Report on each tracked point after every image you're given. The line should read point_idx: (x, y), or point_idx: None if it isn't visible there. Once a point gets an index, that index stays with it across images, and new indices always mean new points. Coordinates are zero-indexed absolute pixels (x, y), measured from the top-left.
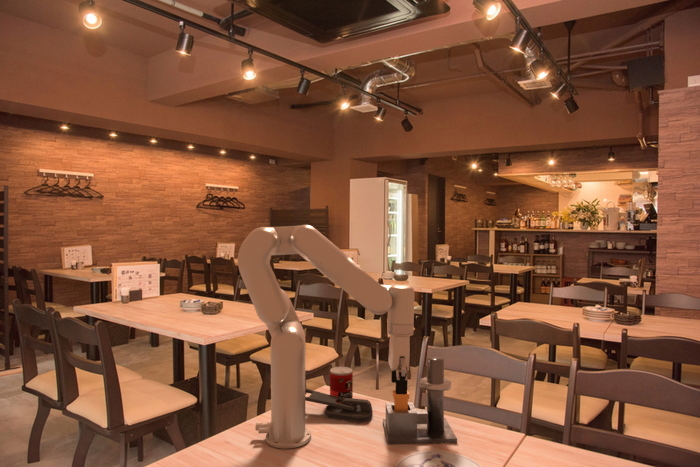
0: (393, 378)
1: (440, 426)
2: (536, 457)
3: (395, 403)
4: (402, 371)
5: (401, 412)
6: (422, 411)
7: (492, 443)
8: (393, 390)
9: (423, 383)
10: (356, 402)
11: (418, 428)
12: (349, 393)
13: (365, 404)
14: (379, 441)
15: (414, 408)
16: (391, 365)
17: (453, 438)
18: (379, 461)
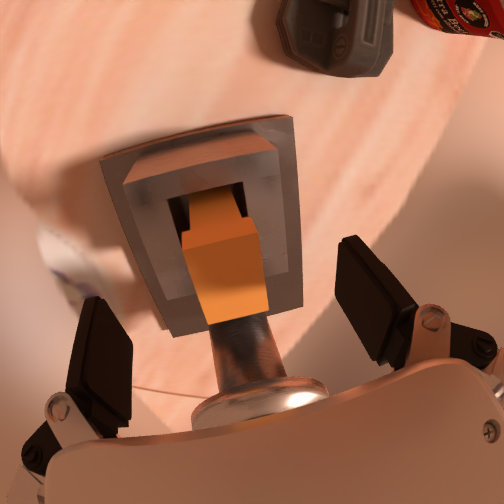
0: (353, 266)
1: None
2: (162, 408)
3: (190, 224)
4: (16, 484)
5: (152, 242)
6: None
7: (194, 374)
8: (257, 237)
9: (231, 413)
10: (354, 8)
11: None
12: (447, 15)
13: (346, 45)
14: (116, 122)
15: None
16: (80, 499)
17: (172, 331)
18: (3, 160)
